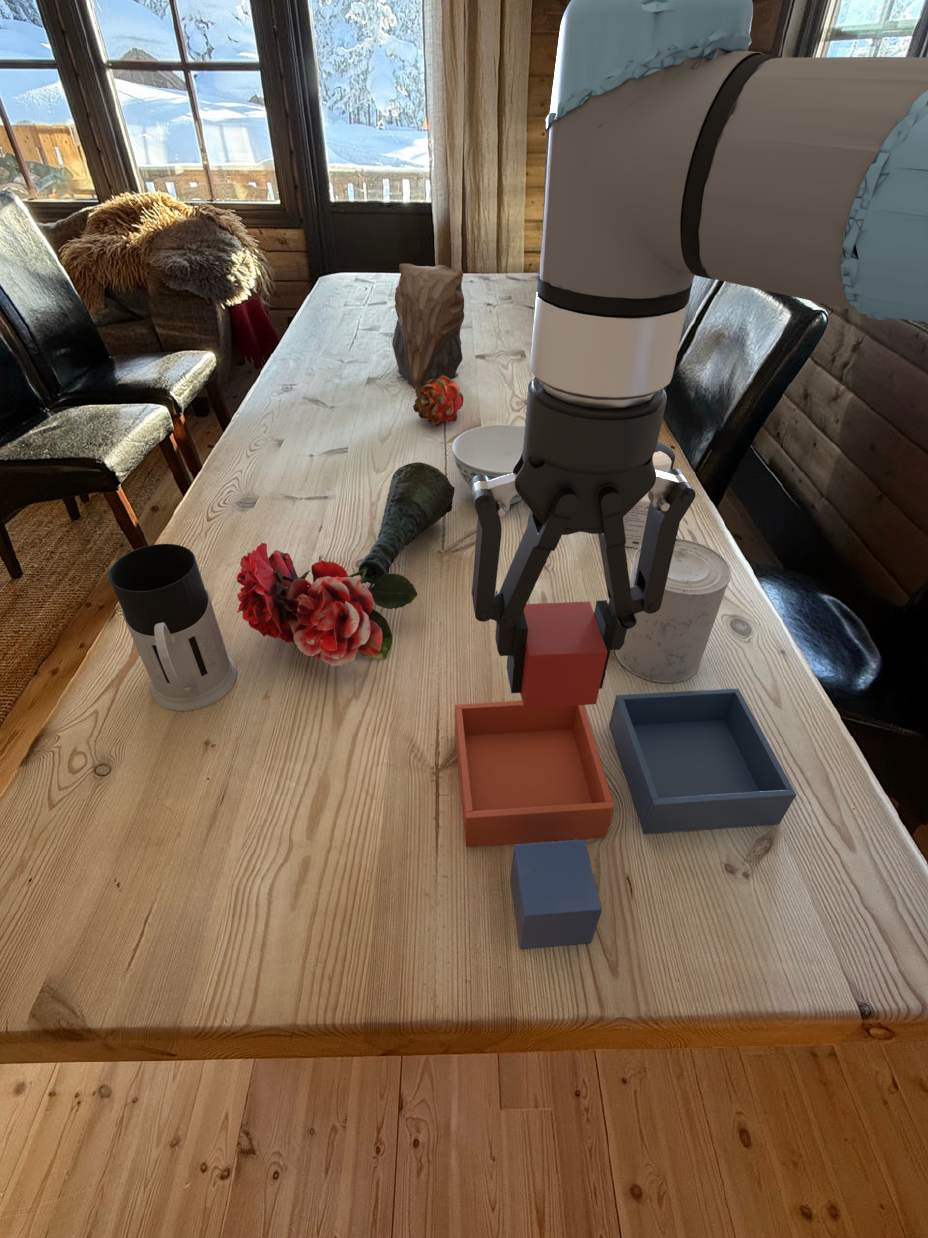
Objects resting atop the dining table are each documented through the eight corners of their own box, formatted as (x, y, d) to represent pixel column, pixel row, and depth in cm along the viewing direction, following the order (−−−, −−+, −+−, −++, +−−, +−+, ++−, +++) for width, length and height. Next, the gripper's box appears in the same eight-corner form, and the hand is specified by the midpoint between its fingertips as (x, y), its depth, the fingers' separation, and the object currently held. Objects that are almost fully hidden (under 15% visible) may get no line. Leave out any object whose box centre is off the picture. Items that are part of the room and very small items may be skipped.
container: (605, 515, 96) (620, 431, 87) (660, 521, 95) (680, 437, 86) (603, 545, 90) (619, 458, 82) (661, 552, 89) (683, 464, 80)
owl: (391, 367, 139) (385, 262, 126) (446, 359, 143) (445, 257, 130) (412, 389, 130) (408, 279, 117) (470, 380, 134) (472, 272, 121)
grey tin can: (716, 652, 74) (748, 564, 66) (672, 697, 69) (702, 607, 61) (643, 613, 79) (664, 527, 71) (597, 653, 74) (615, 564, 66)
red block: (596, 704, 49) (607, 651, 45) (523, 708, 49) (529, 655, 45) (580, 653, 53) (590, 600, 50) (513, 656, 53) (517, 604, 49)
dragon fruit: (425, 443, 116) (442, 425, 126) (465, 419, 112) (478, 401, 122) (398, 401, 113) (417, 385, 123) (437, 374, 109) (453, 360, 119)
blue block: (591, 943, 50) (602, 909, 46) (519, 949, 50) (525, 916, 46) (576, 874, 54) (584, 839, 50) (509, 880, 54) (513, 844, 50)
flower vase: (414, 563, 99) (323, 731, 72) (319, 478, 94) (182, 624, 67) (484, 501, 90) (409, 666, 63) (383, 403, 85) (254, 538, 58)
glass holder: (233, 644, 74) (199, 532, 65) (247, 737, 64) (210, 622, 55) (150, 662, 72) (103, 549, 62) (152, 762, 62) (95, 647, 52)
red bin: (606, 837, 57) (614, 807, 54) (465, 847, 56) (466, 818, 53) (576, 727, 66) (582, 696, 63) (454, 734, 65) (454, 704, 62)
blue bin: (779, 824, 58) (797, 795, 55) (643, 834, 57) (654, 805, 54) (726, 718, 67) (738, 687, 64) (608, 725, 66) (615, 694, 63)
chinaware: (471, 527, 93) (472, 479, 88) (440, 478, 104) (439, 431, 99) (567, 510, 97) (573, 462, 92) (527, 464, 107) (531, 418, 102)
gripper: (736, 352, 39) (655, 639, 54) (424, 357, 38) (431, 650, 53) (794, 405, 33) (686, 708, 49) (430, 413, 32) (436, 722, 47)
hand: (553, 677), depth 51 cm, fingers closed on red block, 5 cm apart
